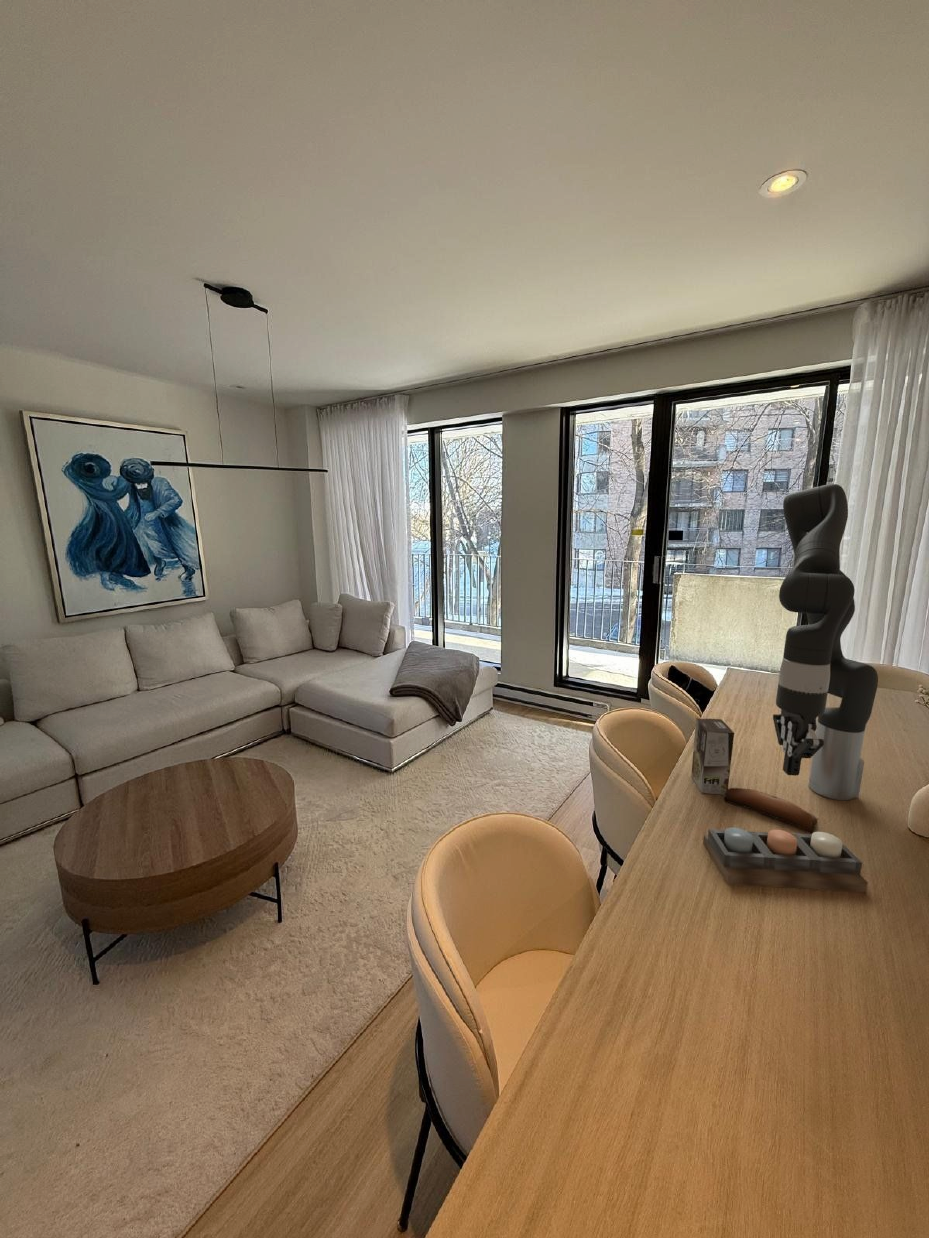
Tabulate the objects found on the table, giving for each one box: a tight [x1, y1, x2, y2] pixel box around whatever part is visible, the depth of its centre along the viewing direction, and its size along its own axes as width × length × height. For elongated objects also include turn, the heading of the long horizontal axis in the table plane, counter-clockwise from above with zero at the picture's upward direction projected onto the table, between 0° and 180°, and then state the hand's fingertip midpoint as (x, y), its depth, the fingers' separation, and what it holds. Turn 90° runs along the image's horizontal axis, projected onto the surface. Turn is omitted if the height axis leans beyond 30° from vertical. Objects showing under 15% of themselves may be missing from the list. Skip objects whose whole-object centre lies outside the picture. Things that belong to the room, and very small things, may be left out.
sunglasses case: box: [723, 787, 819, 833], centre depth 117 cm, size 18×7×7 cm
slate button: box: [724, 827, 753, 853], centre depth 98 cm, size 5×5×3 cm
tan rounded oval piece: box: [767, 829, 798, 856], centre depth 97 cm, size 5×5×3 cm
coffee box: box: [690, 717, 736, 796], centre depth 127 cm, size 9×6×16 cm
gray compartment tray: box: [702, 829, 869, 893], centre depth 98 cm, size 24×12×4 cm, turn 85°
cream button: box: [810, 831, 844, 858], centre depth 97 cm, size 5×5×3 cm
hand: (790, 773), depth 95 cm, fingers closed
